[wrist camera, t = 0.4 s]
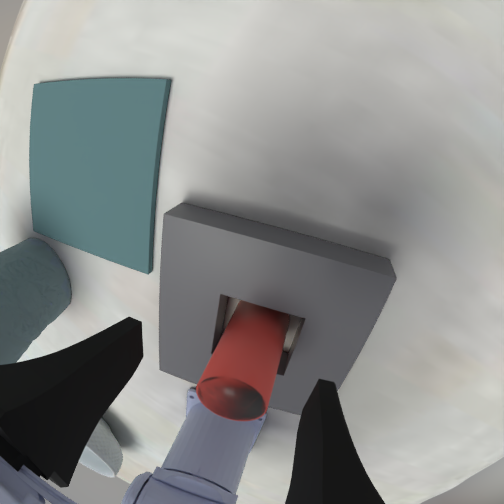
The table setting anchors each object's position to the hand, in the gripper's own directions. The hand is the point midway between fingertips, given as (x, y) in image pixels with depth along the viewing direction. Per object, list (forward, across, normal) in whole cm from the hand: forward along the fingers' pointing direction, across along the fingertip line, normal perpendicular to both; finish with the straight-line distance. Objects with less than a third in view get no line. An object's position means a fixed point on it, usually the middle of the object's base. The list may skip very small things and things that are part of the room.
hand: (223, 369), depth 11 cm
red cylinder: (+10, 0, +5) cm, 11 cm away
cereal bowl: (+11, +22, +37) cm, 44 cm away
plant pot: (+10, +23, +9) cm, 27 cm away
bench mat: (+10, +16, -3) cm, 19 cm away
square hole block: (+10, 0, +5) cm, 11 cm away
